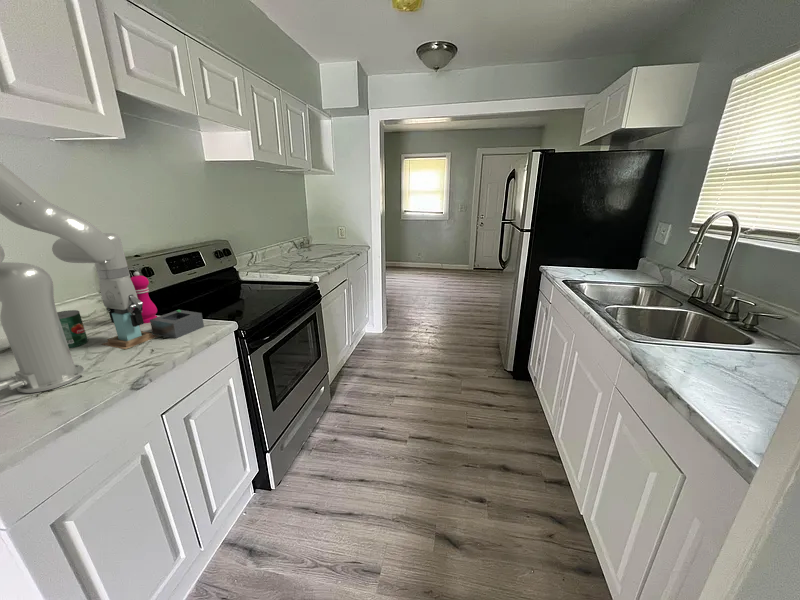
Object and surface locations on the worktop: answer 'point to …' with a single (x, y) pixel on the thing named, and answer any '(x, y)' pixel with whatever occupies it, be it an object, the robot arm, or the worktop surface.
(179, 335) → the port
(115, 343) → the square wooden tray
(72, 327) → the canned tomato
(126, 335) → the plug
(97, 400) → the worktop surface
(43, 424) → the worktop surface
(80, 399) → the worktop surface
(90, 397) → the worktop surface
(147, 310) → the pepper mill
